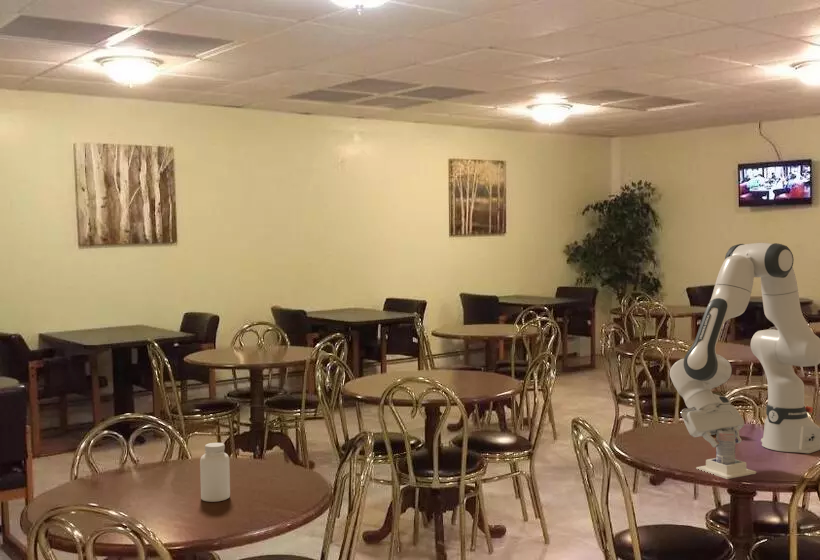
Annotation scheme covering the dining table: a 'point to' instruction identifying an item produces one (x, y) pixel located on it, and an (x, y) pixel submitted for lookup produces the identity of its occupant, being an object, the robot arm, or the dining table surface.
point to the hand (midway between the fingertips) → (727, 444)
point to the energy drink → (725, 446)
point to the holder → (726, 469)
